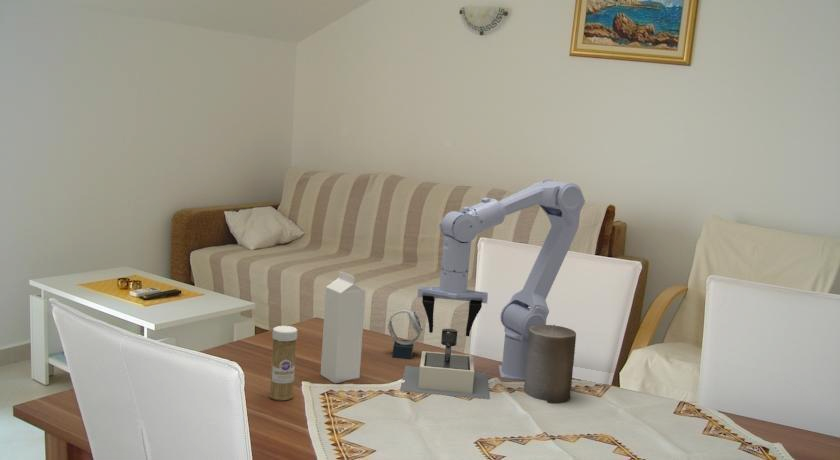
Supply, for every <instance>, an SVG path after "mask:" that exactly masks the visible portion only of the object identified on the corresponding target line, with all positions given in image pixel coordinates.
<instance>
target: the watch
mask: <svg viewBox="0 0 840 460" xmlns="http://www.w3.org/2000/svg"><path fill="white" fill-rule="evenodd" d="M403 313H404V314H405V313H406V314H407V316H408V319H409V321H410V324H411V326H412V328H413V330H414V331H415V332H416V333H417V336H416V337H415V338H414V339H412V340H406V339H399V338H398V335H397V334H396V332H395V330H394V327H393V324H392V323H393V322H392V319H393V318H394V317H395V316H396V315H398V314H403ZM387 328H388V332H389V335H390V337H391V338H392V340H393V341H394V344H393V345H392V358H393V359H404V360H412V358H413V353H414V345H415V343H416V342H417V341H418V340H419V338H420V337H421V332H424V331H423V330H424V329H423V325H422V323H421V320H420V317H419V316H418V314H417V312H416V311H412V310H411V309H407V308H401V309H398V310H395V312H393V313H392V314H391V316H390V318H389V320H388V324H387Z"/></svg>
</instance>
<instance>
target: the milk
mask: <svg viewBox="0 0 840 460" xmlns="http://www.w3.org/2000/svg"><path fill="white" fill-rule="evenodd" d="M324 299H325V301H324V311H323V312H324V315H323V329H322V332H323V333H322V343H321V344H322V345H321V347H322V348H321V359H320V360H321V362H320V376H322V377H324V378H325V379H327V380H329V381H330V382H331V383H333V384H339V383H345V382H346V381H348V380H355V379H360V378H361V377H360V375H361V372H360V371H361V362H362V347H363V335H364V334H363V333H364V330H363V329H364V320H365V319H364V317H365V304H366V303H365V300H366V290H364V289H363V288H362V287H360V286H359V285H357V284H355V276H354V275H352V274H349V273H346V272H345V271H342V270H339V272H338V277H337V278H336V279H334V280H333V281H332V282H331V283H329V284H328V285H326V287H325V297H324Z"/></svg>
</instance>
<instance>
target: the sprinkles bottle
mask: <svg viewBox="0 0 840 460" xmlns="http://www.w3.org/2000/svg"><path fill="white" fill-rule="evenodd" d="M271 336H272V337H271V339H272V351H271V352H272V353H271V361H270V363H271V365H270V386H269V387H270V388H269V390H270V391H269V398H270V399H272V400H275V401H289V400H291V399H292V398H294V393H293V392H294V382H295V370H296V369H295V368H296V347H297V346H296V345H297V344H296V343H297V339H298V329H297V328H296V327H294V326H291V325H290V326H289V325H278V326H275V327H273V328H272V335H271Z"/></svg>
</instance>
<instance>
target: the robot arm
mask: <svg viewBox="0 0 840 460" xmlns="http://www.w3.org/2000/svg"><path fill="white" fill-rule="evenodd" d="M585 202H586V200H585V196H584V195H583V191H582V189H581V188H580V186H579V185H578V184H576V183H575V182H564V181H558V180H557V181H556V180H553V179H549V178H548V179H544V180H542V181H539V182H534V183H533V184H532V185H529V186H527V187H526V188H524V189H522V190H520V191H517V192H515V193H514V194H512V195H510V196H506V197H505V198H503V199H501V200H497V199H495V198H494V197H493V198H492V197H491V198H490V197H484V198H483V197H482V198H481V202H479V203H476V204H474V205H471V206H463V207H462V209H461V211H456V210H453V211H449V212H448V213H446V214H445V216H444V217H443V218H442V220H441V222H440V223H439V225H438V226H439V230H440V233H441V234H442V237H443V239H442V240H443V241H442V243H443V245H442V252H441V253H442V255H441V264H440V265H441V267H440V275H439V276H440V279H439V286H418V288H417V298H421V299H422V300H421V302H422V304H423V308H424V311H425V313H426V318H427V323H428V333H430V334H433V331H434V312H435V311H434V310H435V299H442V300H450V301H451V300H452V301H465V302H469V303H468V313H467V314H468V315H467V323H466V327H465V336H466V337H470V333H471V330H472V327H473V324H474V322H475V320H476V317H478V314H479V313H480V311H481V309H482V306H483V305H482V304H488V299H489V297H488V296H489V293H488V292H486V291H485V292H484V291H478V290H471V289H468V282H469V271H470V270H469V269H470V258H471V246H472V241H474V240H475V238H476V237H477V235H478V234H479V233H482V232H484V231H488V230H489V229H491V228H494V227H496V226H498V225H501V224H503V223H504V221H505V219H506V216H508V215H512V214H513V213H514V214H515V213H516V212H519V211H522V210H525V209H528V208H530V207H533V206H537V205H538V206H539V207H540V208H541V209H542V211H543V212H544V213H545V215H546V216H547V218H548V220H549V223H550V225H551V227H550V229H549V231H548V233H547V236H546V238H545V240H544V242H543V244H542V246H541V249H540V251H539V253H538V255H537V257H536V259H535V261H534V264H533V265H532V268H531V270H530V273H529V275H528V276H527V279H526V281H525V283H524V286H523V288H522V289H521V290H519V291H518V292H515V293H514V294H513V295H512V297H511V298H510V300H509V302H507V304H505V306H504V307H503V308H502V309H501V312H500V322H501V325H502V326H503V327H504V331H503V332H504V344H503V354H502V363H501V364H500V365H498V369H499V371H498V372H499V374H500V378H502V379H511V380H521V381H522V380H523V381H525V372H526V361H527V350H528V338H529V328H530V327H531V326H534V325H547V318H548V315H549V313H550V308H549V307H548V304H547V298H548V295H549V293H550V291H551V289H552V286H553V285H554V282H555V280H556V277H557V275H558V274H559V271H560V270H561V267H562V265H563V263H564V261H565V259H566V256H567V254H568V252H569V249H570V247H571V245H572V242H573V241H574V239H575V236H576V234H577V232H578V229H579V227H580V217H581V211H582V209H583V206H584V205H585Z"/></svg>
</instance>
